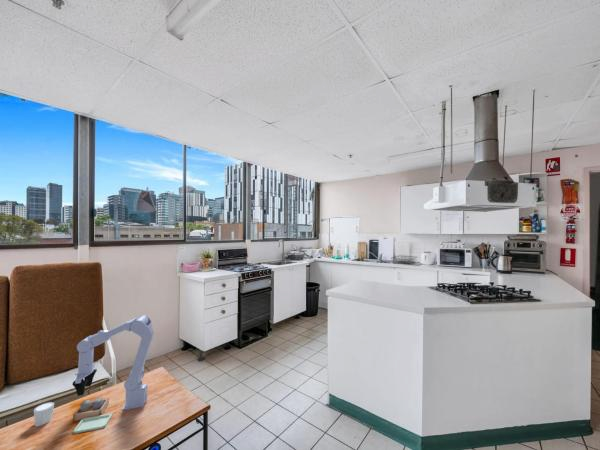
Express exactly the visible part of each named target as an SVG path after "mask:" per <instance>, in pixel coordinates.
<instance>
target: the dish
mask: <svg viewBox="0 0 600 450" xmlns="http://www.w3.org/2000/svg"><path fill="white" fill-rule="evenodd" d="M109 400H110V398H105V399H104V398H103V406H102V407H101V408H100V409H99V410H93V401H94V400H91V411H87V412H81V413H80V406H79V407H78V408H77V409H76V411H75V412H74V413H73V414H72V422H77V421H81V420H82V419H83V418H88V417H94V416H99V415H104V413H105V411H106V409H107V408H108V406H109V403H110V402H109Z"/></svg>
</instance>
